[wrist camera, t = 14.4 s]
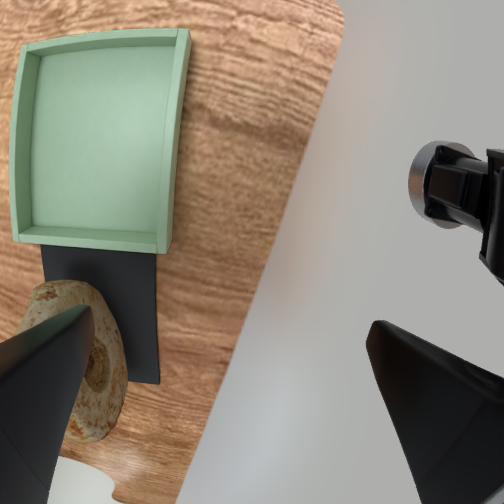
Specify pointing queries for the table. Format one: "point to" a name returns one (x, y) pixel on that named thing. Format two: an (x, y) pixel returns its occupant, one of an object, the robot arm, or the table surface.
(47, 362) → the robot arm
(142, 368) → the mat
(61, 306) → the beige oval piece
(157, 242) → the tray
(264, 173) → the table surface
